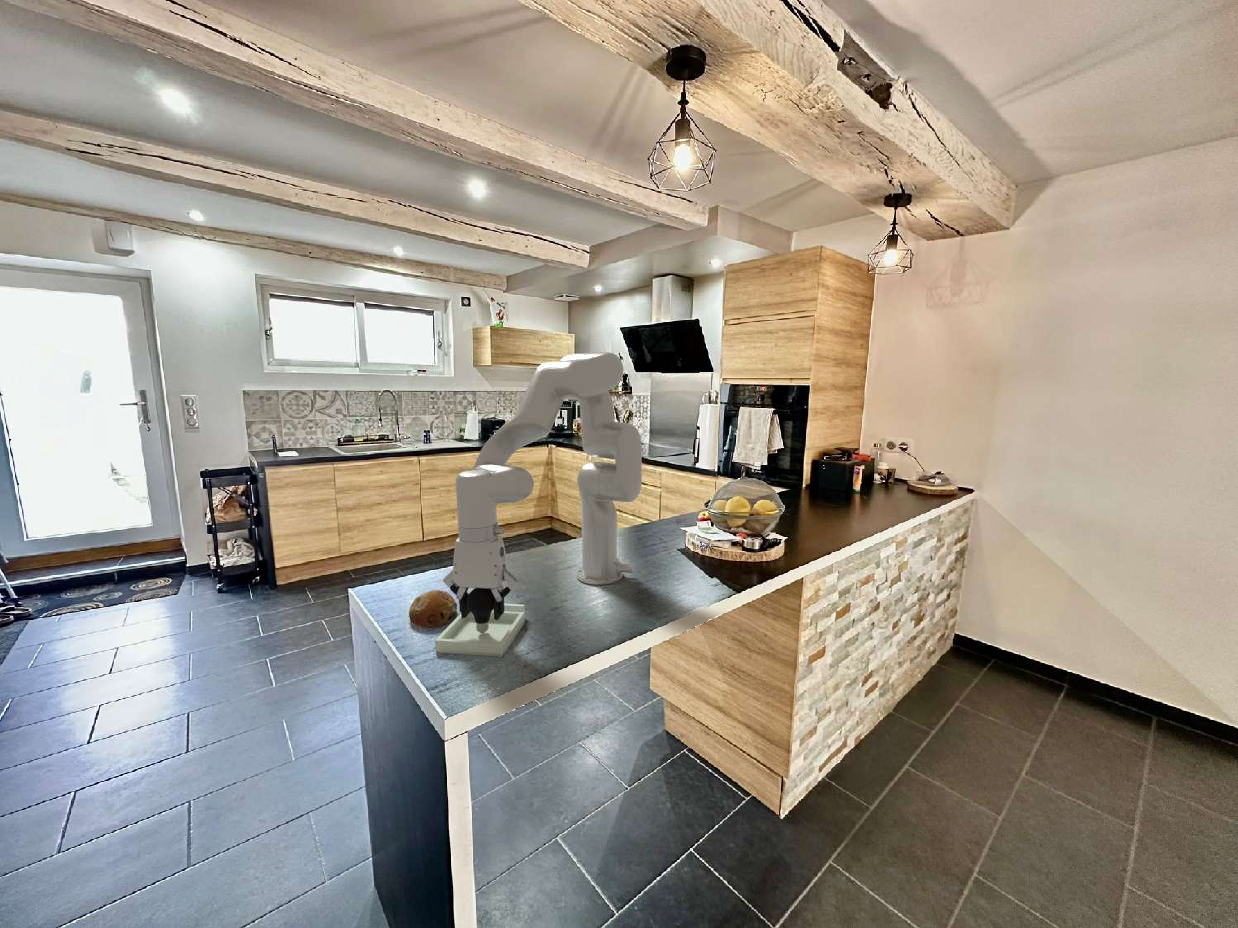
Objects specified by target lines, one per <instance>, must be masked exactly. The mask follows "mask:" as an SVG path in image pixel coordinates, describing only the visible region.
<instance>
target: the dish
mask: <svg viewBox="0 0 1238 928" xmlns="http://www.w3.org/2000/svg"><path fill="white" fill-rule="evenodd" d="M525 621H526V620H525V618H524V612H510V611H504V613H503V614H502V615H501V617H500V618H499V619H498V620H495V619H494V611H493V610H492V612H491V614H490V619H489V622H488V623H489V625H488V626H489V629H488V630H487V631H486V632H484V633H480V632H478V631H477V630H476V622H475V619H474V615H473V614H472V612H470V613H469V614H468V615H467V616H466V617H465V618H461V613H460V614H459V615H458V616H456V617H455V618H454V619H453V620H452V621H451V623H450V624H449V625H448V626H447V627H446V629H444V630H443V631H442V632H441V634H439V635H438V637H437V638H436V639H434V647H435V653H443V654H455V655H456V654H457V655H458V654H459V655H467V656H468V655H472V656H485V657H499V658H503V657H504V656H505V654H506V653H507V651H508V649H509V648H510V646H511V645H512V644H513V642H514V640H515V639H516V637H517V635H518V634H519V633H520V631H521V629H522V628H523V626H524V624H525Z"/></svg>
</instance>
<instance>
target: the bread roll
mask: <svg viewBox="0 0 1238 928" xmlns="http://www.w3.org/2000/svg"><path fill="white" fill-rule="evenodd" d="M457 612H458V603H457V602H456V599H455V598H454V597H453V596H452V594H450V593H449V592H447V591H446V590H445V591H444V590H440V589H433V590H429V591H426V592H424V593H422V594H420V595H419V596H417V597H416V598H415V599H414V600H413V602H412V603H411V605H410V608H409V610H408V618H409V621H410V623H411V624H412V625H413V624H414V625H413V626H416V627H420V628H422V629H423V628H424V629H426V628H427V629H428V628H429V629H430V628H438V627H439V628H440V627H442V626H444V625H447V624H449V623H450V622H453V621H454V620H455V619H456V617H457Z"/></svg>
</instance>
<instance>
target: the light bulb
mask: <svg viewBox="0 0 1238 928" xmlns="http://www.w3.org/2000/svg"><path fill="white" fill-rule="evenodd" d="M468 594H469V595H468V598H467V606H468V609H469V610H470V612H472V614H473V615H474V619H475V622H476V630H477V631H478V632H480V633H484V632H486V631H487V630H488V629H489V626H488V625H489V623H488V622H489V619H490V614H491V612H492V610H493V609H494V606H493V603H494V601H495V597H494V595H493V592H492V590H491V589H483V588H472V590H471V591H470V592H468Z"/></svg>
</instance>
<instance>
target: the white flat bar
mask: <svg viewBox="0 0 1238 928" xmlns="http://www.w3.org/2000/svg"><path fill="white" fill-rule="evenodd" d="M493 611H494V609H493ZM504 611H510V612H524V618H525V617H526V615H525V613H526V611H525V604H518V603H504Z"/></svg>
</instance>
